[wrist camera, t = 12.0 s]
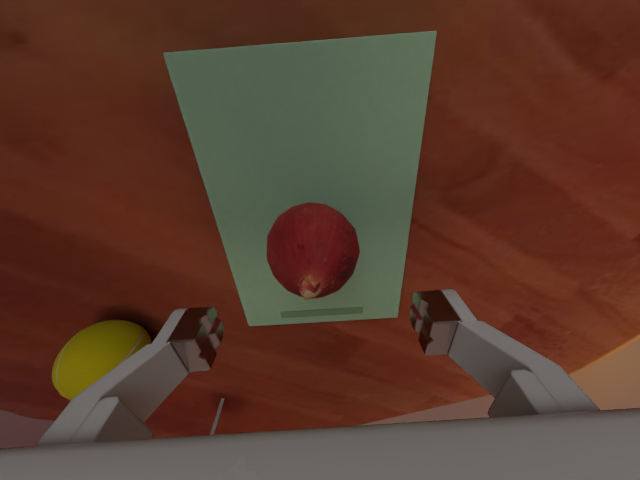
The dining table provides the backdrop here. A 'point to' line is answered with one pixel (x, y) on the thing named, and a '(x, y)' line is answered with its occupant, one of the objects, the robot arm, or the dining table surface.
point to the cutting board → (310, 156)
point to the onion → (312, 250)
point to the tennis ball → (96, 354)
